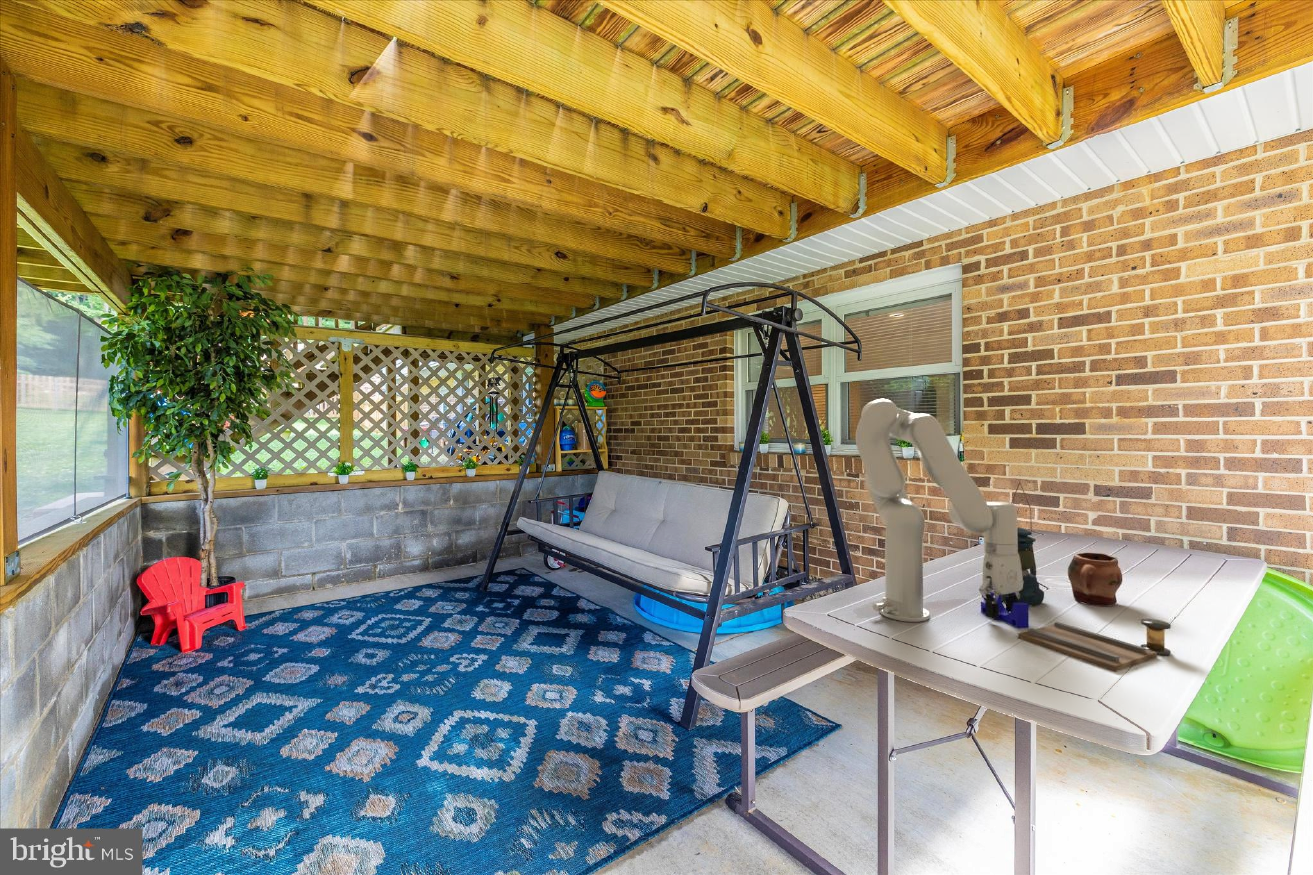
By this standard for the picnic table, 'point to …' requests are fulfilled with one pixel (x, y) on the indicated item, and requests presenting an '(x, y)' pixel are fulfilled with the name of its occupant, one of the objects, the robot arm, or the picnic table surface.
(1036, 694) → the picnic table surface
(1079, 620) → the picnic table surface
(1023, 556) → the lantern
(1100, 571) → the decorative planter
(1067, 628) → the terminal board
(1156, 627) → the copper spool
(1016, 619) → the blue cradle block
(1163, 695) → the picnic table surface
